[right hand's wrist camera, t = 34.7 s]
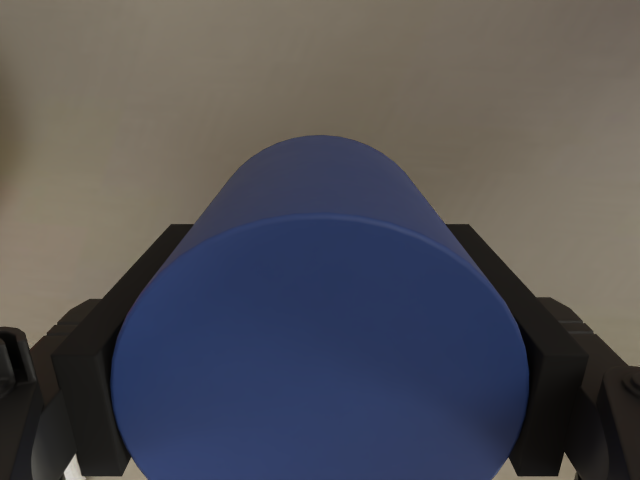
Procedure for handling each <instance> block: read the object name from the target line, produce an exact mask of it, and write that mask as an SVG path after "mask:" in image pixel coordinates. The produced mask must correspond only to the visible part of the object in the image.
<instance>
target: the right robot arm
mask: <svg viewBox="0 0 640 480" xmlns="http://www.w3.org/2000/svg"><path fill="white" fill-rule="evenodd" d="M193 225H194V224H171V225H170V226H169V227H168V228H167V229H166V230H165V231H164V232H163V234H162V235H161V236H160V237H159V238H158V239H157V240H156V241H155V242H154V243H153V244H152V245H151V247H150V248H149V249H148V250H147V251H146V252H145V253H144V254H143V255H142V256H141V257H140V258H139V260H138V261H137V262H136V263H135V264H134V265H133V266H132V267H131V268H130V269H129V270H128V271H127V273H126V274H125V275H124V276H123V277H122V278H121V279H120V280H119V281H118V282H117V283H116V284H115V286H114V287H113V288H112V289H111V290H110V291H109V292H108V293H107V294H106V295H105V296H104V298H103V299H89V300H87V301H85V302H83V303H82V304H80V305H78V306H76V307H74V308H73V309H71V310H70V311H68V312H67V313H66V314H65V315H64V316H63V317H62V318H61V319H60V320H59V321H58V322H57V325H54V326H53V327H52V328H51V329H50V330H49V331H48V332H47V335H46V336H43V337H42V338H41V339H40V340H39V341H38V342H37V343H36V344H35V345H34V346H33V347H32V348H31V349H29V346H28V342H27V339H26V335H25V333H24V332H23V331H21V330H20V329H18V328H12V327H0V480H66V479H65V475H64V471H65V470H66V468H67V467H68V465H69V463H70V462H71V460H72V459H73V457H74V455H75V454H76V456H77V460H78V464H79V468H80V471H81V475H82V476H122V475H123V473H124V471H125V469H126V467H127V465H128V463H129V460H130V458H131V455H130V454H129V452H128V450H127V449H126V447H125V444H124V442H123V439H122V437H121V435H120V432H119V430H118V428H117V424H116V420H115V416H114V412H113V408H112V399H111V388H110V378H111V364H112V357H113V353H114V349H115V345H116V340H117V336H118V334H119V332H120V329H121V327H122V325H123V323H124V320H125V318H126V316H127V314H128V312H129V310H130V309H131V307H132V306H133V304H134V303H135V301H136V299H137V298H138V296H139V295H140V293H141V292H142V291H143V289H144V288H145V287H146V285H147V284H148V283H149V282H150V280H151V279H152V278H153V276H154V275H155V274H156V273H157V271H158V270H159V269H160V267H161V266H162V265H163V264H164V262H165V261H166V260H167V258H168V257H169V256H170V255H171V253H172V252H173V251H174V250H175V248H176V247H177V246H178V244H179V243H180V242H181V241H182V239H183V238H184V237H185V235H186V234H187V233H188V232H189V230H190V229H191V228H192V226H193ZM445 225H446V226H447V227H448V229H449V230H450V231H451V232H452V234H453V235H454V236H455V238H456V239H457V240H458V241H459V243H460V244H461V245H462V247H463V248H464V249H465V250H466V252H467V253H468V254H469V256H470V257H471V258H472V259H473V261H474V262H475V263H476V265H477V266H478V267H479V268H480V270H481V271H482V272H483V274H484V275H485V276H486V277H487V279H488V280H489V281H490V283H491V284H492V285H493V287H494V288H495V289H496V290H497V292H498V293H499V294H500V296H501V297H502V298H503V300H504V301H505V302H506V304H507V306H508V308H509V310H510V311H511V313H512V315H513V317H514V319H515V321H516V322H517V324H518V327H519V330H520V333H521V336H522V339H523V342H524V345H525V348H526V354H527V360H528V366H529V398H528V404H527V410H526V416H525V419H524V422H523V425H522V428H521V431H520V434H519V437H518V439H517V441H516V443H515V445H514V447H513V449H512V451H511V453H510V455H509V459H510V461H511V463H512V465H513V467H514V469H515V472H516V474H517V476H558V474H559V470H560V466H561V462H562V459H563V455H564V452H565V454H566V455H567V457H568V458H569V460H570V461H571V463H572V465H573V466H574V468H575V469H576V475H575V479H574V480H640V367H635V366H628V365H627V364H626V363H625V362H624V361H623V360H622V359H621V358H620V357H619V356H618V355H617V354H616V353H615V352H614V351H613V350H612V349H611V348H610V347H609V346H608V345H607V344H606V343H605V342H604V341H603V340H602V339H601V338H600V337H599V336H598V335H597V334H594V333H593V330H591V329H590V328H589V327H588V326H587V325H586V324H585V323H583V321H582V320H581V319H580V318H579V317H578V316H577V315H576V314H575V313H574V312H573V311H572V310H571V309H570V308H569V307H567V306H565V305H563V304H561V303H559V302H558V301H556V300H554V299H552V298H550V297H535V296H534V295H533V294H532V292H531V291H530V290H529V289H528V288H527V287H526V286H525V285H524V284H523V283H522V282H521V281H520V279H519V278H518V277H517V276H516V275H515V274H514V273H513V272H512V271H511V270H510V269H509V267H508V266H507V265H506V264H505V263H504V262H503V261H502V260H501V259H500V258H499V257H498V256H497V254H496V253H495V252H494V251H493V250H492V249H491V248H490V247H489V246H488V245H487V244H486V243H485V241H484V240H483V239H482V238H481V237H480V236H479V235H478V234H477V233H476V232H475V231H474V230H473V228H472V227H471V226H470V225H469V224H445Z"/></svg>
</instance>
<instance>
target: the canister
mask: <svg viewBox="0 0 640 480" xmlns="http://www.w3.org/2000/svg"><path fill="white" fill-rule="evenodd" d="M110 388H111V399H112V408H113V412H114V416H115V420H116V424H117V428H118V430H119V432H120V435H121V437H122V439H123V442H124V444H125V447H126V449H127V450H128V452H129V454H130V455H131V457H132V458H133V460H134V462H135V463H136V465H137V467H138V468H139V469H140V470H141V472H142V473H143V474H144V475H145V477H146V478H147V479H148V480H492V479H493V478H494V476H495V475H496V474H497V473H498V471H499V470H500V468H501V467H502V466H503V464H504V463H505V461H506V460H507V458H508V457H509V455H510V453H511V451H512V449H513V447H514V445H515V443H516V441H517V439H518V437H519V434H520V431H521V428H522V425H523V422H524V419H525V416H526V410H527V404H528V398H529V366H528V360H527V354H526V348H525V345H524V342H523V339H522V336H521V333H520V330H519V327H518V324H517V322H516V321H515V319H514V317H513V315H512V313H511V311H510V310H509V308H508V306H507V304H506V302H505V301H504V300H503V298H502V297H501V296H500V294H499V293H498V292H497V290H496V289H495V288H494V287H493V285H492V284H491V283H490V281H489V280H488V279H487V277H486V276H485V275H484V274H483V272H482V271H481V270H480V268H479V267H478V266H477V265H476V263H475V262H474V261H473V259H472V258H471V257H470V256H469V254H468V253H467V252H466V250H465V249H464V248H463V247H462V245H461V244H460V243H459V241H458V240H457V239H456V238H455V236H454V235H453V234H452V232H451V231H450V230H449V229H448V227H447V226H446V225H445V223H444V222H443V221H442V220H441V218H440V217H439V216H438V214H437V213H436V212H435V211H434V209H433V208H432V207H431V205H430V204H429V203H428V202H427V200H426V199H425V198H424V196H423V195H422V194H421V193H420V191H419V190H418V189H417V187H416V186H415V185H414V184H413V182H412V181H411V180H410V178H409V177H408V176H407V175H406V173H405V172H404V171H403V170H402V169H401V168H400V167H399V166H398V165H397V164H396V163H395V162H394V161H392V160H391V159H390V158H388V157H387V156H385V155H384V154H383V153H381V152H379V151H377V150H376V149H374V148H372V147H370V146H368V145H365V144H363V143H360V142H358V141H355V140H351V139H347V138H343V137H337V136H327V135H314V136H303V137H297V138H292V139H289V140H286V141H282V142H279V143H276V144H274V145H272V146H270V147H268V148H266V149H264V150H262V151H260V152H259V153H257V154H256V155H254V156H253V157H251V158H250V159H249V160H248V161H246V162H245V163H244V164H243V165H242V166H241V167H240V168H239V169H238V170H237V171H236V172H235V173H234V174H233V176H232V177H231V178H230V179H229V180H228V182H227V183H226V184H225V185H224V187H223V188H222V189H221V191H220V192H219V193H218V194H217V196H216V197H215V198H214V200H213V201H212V202H211V203H210V205H209V206H208V207H207V208H206V210H205V211H204V212H203V214H202V215H201V216H200V217H199V219H198V220H197V221H196V223H195V224H194V225H193V226H192V228H191V229H190V230H189V232H188V233H187V234H186V235H185V237H184V238H183V239H182V241H181V242H180V243H179V244H178V246H177V247H176V248H175V250H174V251H173V252H172V253H171V255H170V256H169V257H168V258H167V260H166V261H165V262H164V264H163V265H162V266H161V267H160V269H159V270H158V271H157V273H156V274H155V275H154V276H153V278H152V279H151V280H150V282H149V283H148V284H147V285H146V287H145V288H144V289H143V291H142V292H141V293H140V295H139V296H138V298H137V299H136V301H135V303H134V304H133V306H132V307H131V309H130V310H129V312H128V314H127V316H126V318H125V320H124V323H123V325H122V327H121V329H120V332H119V334H118V336H117V340H116V345H115V349H114V353H113V357H112V364H111V378H110Z"/></svg>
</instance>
